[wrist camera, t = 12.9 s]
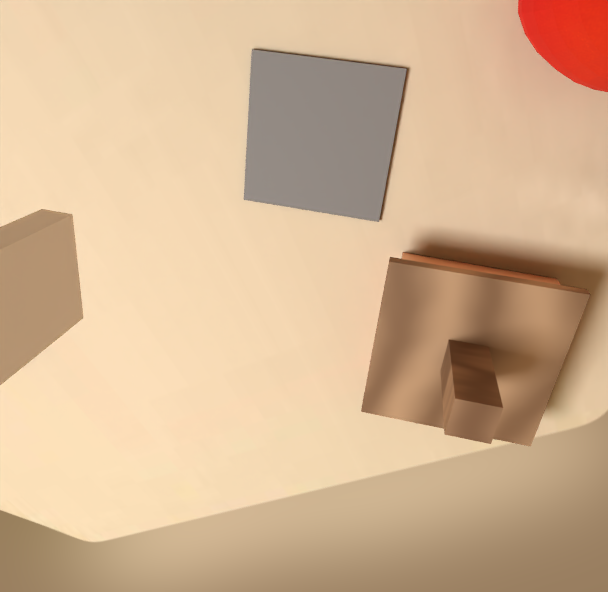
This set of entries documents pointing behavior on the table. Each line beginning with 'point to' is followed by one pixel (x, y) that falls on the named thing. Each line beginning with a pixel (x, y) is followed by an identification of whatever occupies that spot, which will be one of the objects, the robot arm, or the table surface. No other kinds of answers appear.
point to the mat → (321, 133)
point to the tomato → (570, 37)
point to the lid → (469, 350)
